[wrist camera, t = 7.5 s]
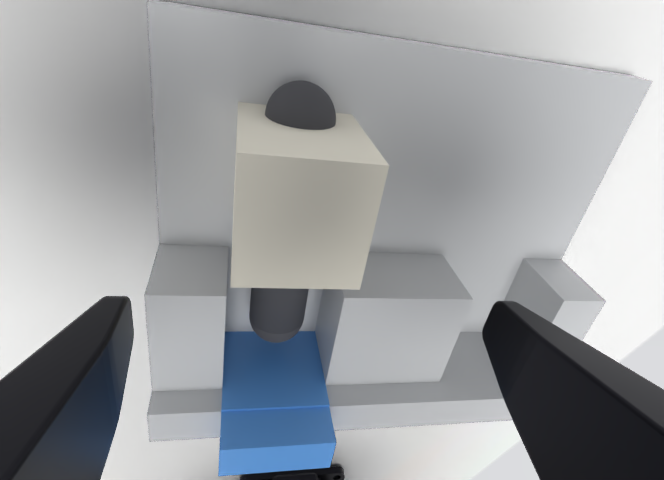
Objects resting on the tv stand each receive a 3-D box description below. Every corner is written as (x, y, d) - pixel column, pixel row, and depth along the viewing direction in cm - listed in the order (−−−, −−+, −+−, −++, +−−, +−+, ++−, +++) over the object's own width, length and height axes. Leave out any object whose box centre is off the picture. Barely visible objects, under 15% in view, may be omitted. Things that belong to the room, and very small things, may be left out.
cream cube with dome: (315, 317, 19) (333, 401, 16) (228, 317, 19) (224, 406, 15) (358, 81, 14) (399, 123, 11) (239, 65, 13) (238, 105, 10)
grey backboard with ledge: (504, 338, 24) (580, 447, 19) (168, 342, 20) (141, 482, 15) (632, 75, 17) (814, 128, 12) (153, -1, 13) (89, 25, 8)
